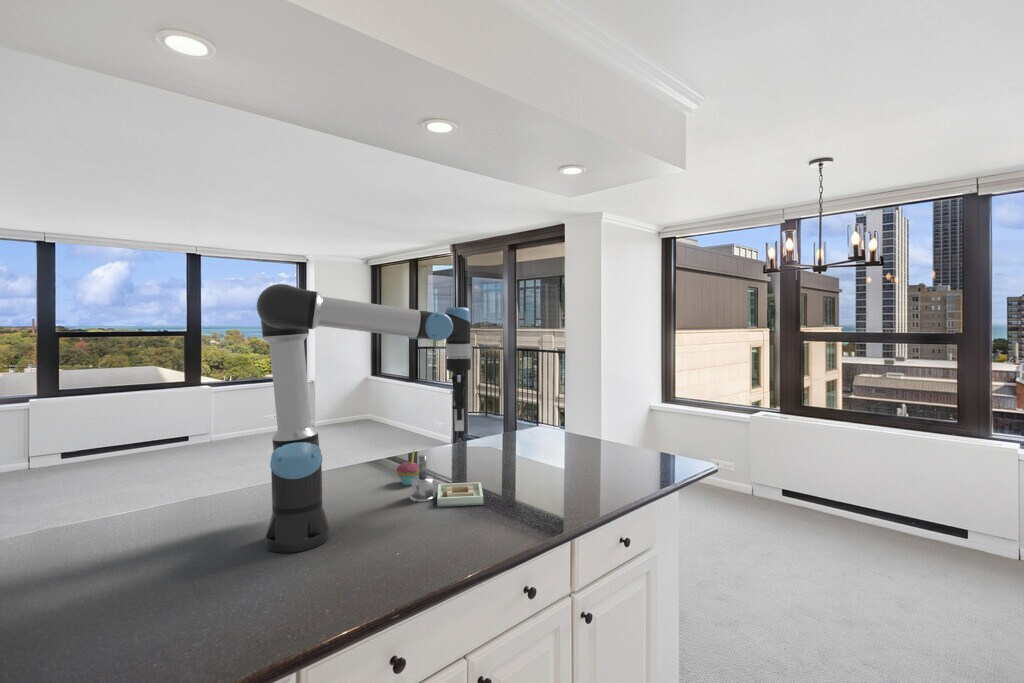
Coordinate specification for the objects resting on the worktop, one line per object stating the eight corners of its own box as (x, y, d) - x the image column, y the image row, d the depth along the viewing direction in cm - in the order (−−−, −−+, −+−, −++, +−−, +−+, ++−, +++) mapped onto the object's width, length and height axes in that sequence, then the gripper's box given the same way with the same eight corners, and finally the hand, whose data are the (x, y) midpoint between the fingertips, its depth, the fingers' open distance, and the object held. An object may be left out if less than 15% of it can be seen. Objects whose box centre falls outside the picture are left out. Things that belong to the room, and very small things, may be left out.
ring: (473, 499, 154) (473, 493, 153) (442, 501, 152) (442, 494, 152) (472, 491, 162) (472, 485, 161) (442, 492, 160) (442, 486, 160)
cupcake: (424, 479, 176) (424, 445, 175) (417, 487, 167) (417, 451, 167) (400, 479, 177) (400, 445, 176) (392, 487, 168) (392, 451, 168)
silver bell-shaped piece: (435, 501, 154) (435, 459, 154) (408, 502, 153) (408, 460, 153) (436, 492, 162) (435, 452, 162) (411, 493, 161) (410, 453, 161)
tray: (483, 504, 151) (483, 496, 151) (437, 506, 150) (437, 498, 149) (480, 489, 165) (480, 482, 165) (438, 491, 163) (438, 484, 163)
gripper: (472, 360, 144) (472, 434, 144) (469, 354, 168) (469, 418, 169) (445, 360, 143) (446, 435, 143) (446, 355, 167) (447, 418, 168)
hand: (459, 426), depth 156 cm, fingers open, 13 cm apart
